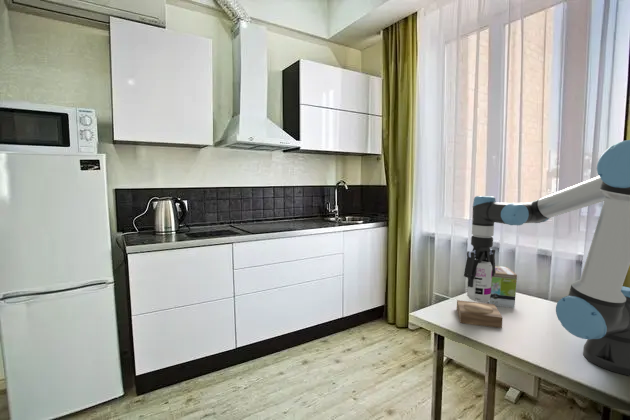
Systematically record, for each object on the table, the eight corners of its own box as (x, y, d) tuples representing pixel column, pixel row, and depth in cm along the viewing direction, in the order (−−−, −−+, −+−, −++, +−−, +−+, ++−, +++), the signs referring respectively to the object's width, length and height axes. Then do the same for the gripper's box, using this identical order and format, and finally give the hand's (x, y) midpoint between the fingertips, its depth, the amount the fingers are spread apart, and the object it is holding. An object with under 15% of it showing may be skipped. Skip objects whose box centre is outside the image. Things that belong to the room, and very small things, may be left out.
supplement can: (484, 295, 132) (487, 259, 131) (494, 303, 124) (496, 264, 123) (464, 294, 133) (465, 258, 131) (471, 302, 125) (473, 263, 123)
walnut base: (501, 328, 120) (502, 317, 120) (460, 322, 124) (461, 312, 124) (493, 313, 133) (494, 303, 133) (456, 309, 138) (457, 299, 137)
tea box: (515, 308, 139) (517, 274, 138) (489, 305, 142) (491, 272, 141) (505, 296, 154) (507, 265, 153) (482, 294, 157) (483, 264, 155)
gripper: (490, 232, 134) (487, 286, 136) (455, 236, 125) (452, 294, 127) (508, 235, 128) (504, 292, 130) (472, 239, 118) (469, 300, 120)
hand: (478, 293), depth 128 cm, fingers closed on supplement can, 8 cm apart
